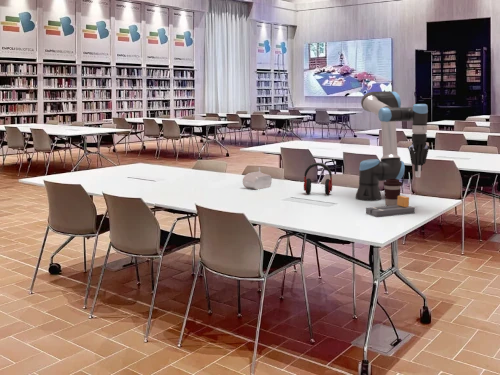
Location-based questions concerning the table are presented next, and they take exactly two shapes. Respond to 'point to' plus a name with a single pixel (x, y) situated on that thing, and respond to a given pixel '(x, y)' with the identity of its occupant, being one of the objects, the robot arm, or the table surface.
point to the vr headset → (257, 180)
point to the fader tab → (403, 201)
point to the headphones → (327, 183)
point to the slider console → (389, 210)
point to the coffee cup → (392, 191)
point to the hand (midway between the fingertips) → (417, 177)
